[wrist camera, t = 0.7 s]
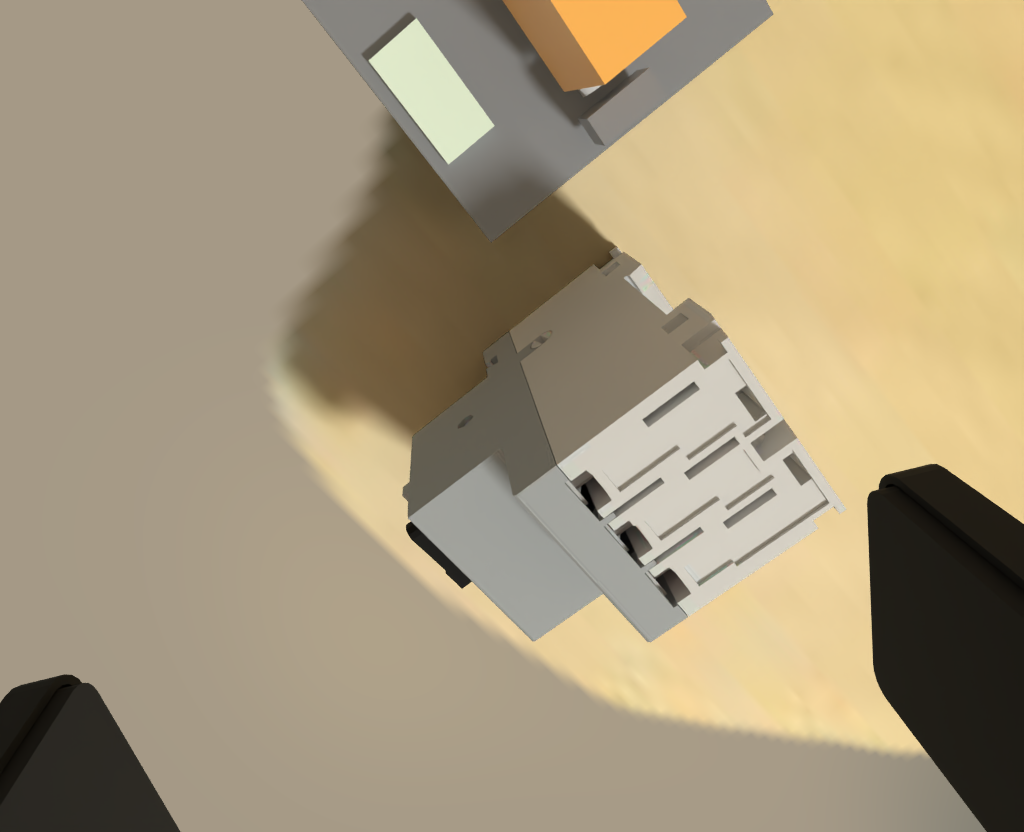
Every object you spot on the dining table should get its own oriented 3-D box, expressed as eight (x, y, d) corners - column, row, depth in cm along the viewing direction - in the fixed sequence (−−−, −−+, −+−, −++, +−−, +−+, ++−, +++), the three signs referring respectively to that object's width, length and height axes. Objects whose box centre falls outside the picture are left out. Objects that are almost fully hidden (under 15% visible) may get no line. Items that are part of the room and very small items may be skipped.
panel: (556, -200, 28) (618, -360, 19) (694, 37, 32) (805, 4, 22) (322, 13, 30) (271, -33, 21) (478, 215, 34) (496, 253, 24)
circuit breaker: (388, 426, 37) (363, 609, 23) (616, 246, 35) (735, 331, 21) (482, 523, 40) (508, 738, 26) (698, 361, 38) (853, 504, 24)
